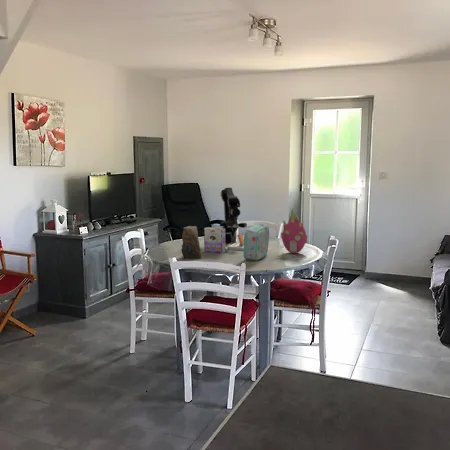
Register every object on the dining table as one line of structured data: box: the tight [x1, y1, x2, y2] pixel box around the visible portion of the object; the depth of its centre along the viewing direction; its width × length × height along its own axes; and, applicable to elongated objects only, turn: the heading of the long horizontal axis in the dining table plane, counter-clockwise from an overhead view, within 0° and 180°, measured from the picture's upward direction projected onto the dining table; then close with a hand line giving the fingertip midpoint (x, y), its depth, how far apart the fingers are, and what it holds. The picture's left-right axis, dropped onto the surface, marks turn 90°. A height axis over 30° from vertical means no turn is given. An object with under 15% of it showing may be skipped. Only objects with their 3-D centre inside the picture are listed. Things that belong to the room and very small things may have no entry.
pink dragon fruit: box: [280, 208, 308, 254], centre depth 330 cm, size 18×14×30 cm
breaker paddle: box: [236, 233, 244, 245], centre depth 350 cm, size 2×6×8 cm, turn 158°
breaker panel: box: [227, 242, 244, 251], centre depth 350 cm, size 16×14×4 cm
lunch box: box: [243, 223, 270, 261], centre depth 317 cm, size 27×10×21 cm, turn 159°
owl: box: [181, 225, 202, 260], centre depth 320 cm, size 13×13×20 cm
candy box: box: [203, 226, 226, 254], centre depth 338 cm, size 14×6×16 cm, turn 65°
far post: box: [230, 232, 237, 245], centre depth 364 cm, size 5×5×10 cm
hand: (233, 236), depth 352 cm, fingers closed
